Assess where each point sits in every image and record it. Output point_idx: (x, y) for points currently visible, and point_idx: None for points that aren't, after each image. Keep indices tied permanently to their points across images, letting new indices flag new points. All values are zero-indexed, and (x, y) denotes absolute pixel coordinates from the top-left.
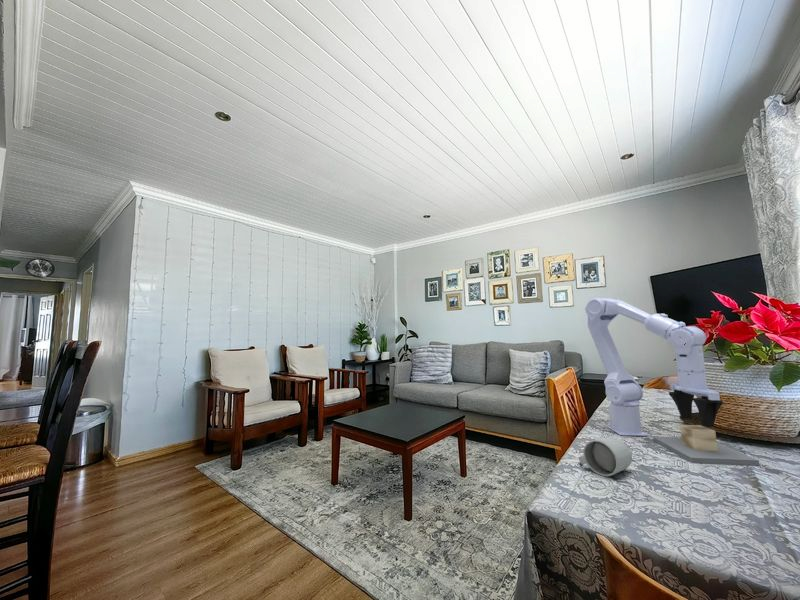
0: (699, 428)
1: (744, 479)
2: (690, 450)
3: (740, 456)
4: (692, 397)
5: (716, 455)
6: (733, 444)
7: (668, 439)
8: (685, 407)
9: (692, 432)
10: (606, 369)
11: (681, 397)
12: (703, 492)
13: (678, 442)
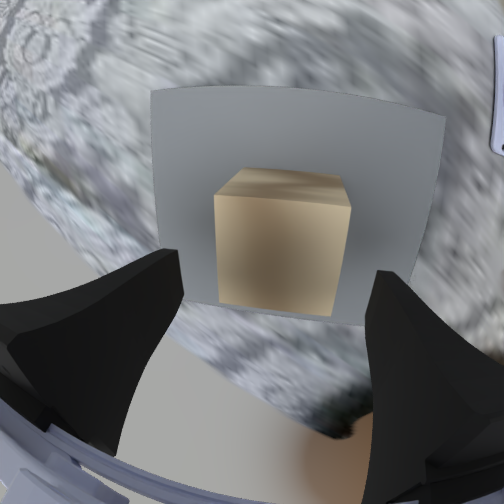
0: (263, 263)
1: (72, 168)
2: (239, 142)
3: (192, 277)
4: (369, 472)
5: (188, 205)
6: (357, 365)
7: (405, 160)
8: (389, 358)
9: (230, 191)
10: None
11: (414, 430)
12: (20, 45)
13: (358, 171)
